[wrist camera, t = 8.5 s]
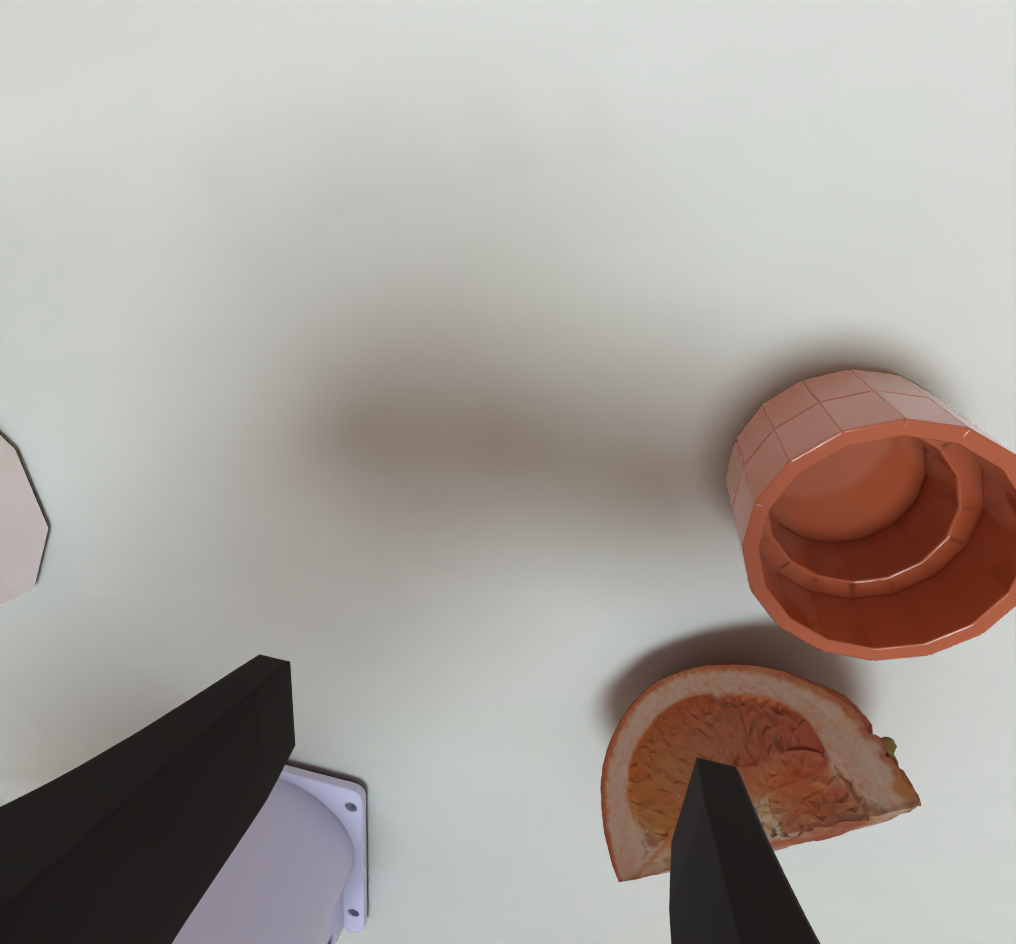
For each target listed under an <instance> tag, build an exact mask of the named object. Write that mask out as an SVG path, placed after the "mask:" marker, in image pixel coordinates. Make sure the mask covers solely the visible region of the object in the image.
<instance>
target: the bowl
mask: <svg viewBox="0 0 1016 944" xmlns="http://www.w3.org/2000/svg"><path fill="white" fill-rule="evenodd" d="M762 406H763V407H761V408H759V409H758V411H757V412H756V413H755V415H754V416H753V417H752V418H751V420H750V421H749V422H748V424H747V425H746V426H745V428H744V429H743V430H742V432H741V433H740V434H739V435H738V437H737V439H736V440H737V441H735V443H734V445H733V449H732V453H731V457H730V461H729V465H728V469H727V473H726V478H727V479H726V485H727V490H728V495H729V499H730V504H731V509H732V514H733V518H734V522H735V527H736V531H737V535H738V540H739V544H740V549H741V553H742V557H743V561H744V566H745V570H746V574H747V579H748V583H749V587H750V590H751V592H752V593H753V595H754V596H755V597H756V598H757V600H758V601H759V602H760V604H761V605H762V606H763V608H764V609H765V610H766V611H767V613H768V614H769V615H770V617H771V618H772V619H773V620H774V622H775V623H776V624H777V625H778V626H779V627H780V628H782V629H784V630H786V631H787V632H789V633H791V634H793V635H794V636H796V637H798V638H800V639H801V640H803V641H805V642H807V643H808V644H810V645H812V646H813V647H815V648H817V649H819V650H822V651H826V652H831V653H836V654H841V655H846V656H851V657H856V658H861V659H866V660H874V661H877V660H887V659H898V658H909V657H919V656H927V655H928V654H929V655H932V654H934V653H937V652H939V651H942V650H944V649H947V648H949V647H952V646H954V645H957V644H959V643H962V642H964V641H967V640H969V639H972V638H974V637H977V636H979V635H981V633H984V632H986V631H987V630H988V629H989V628H990V627H991V626H993V625H994V624H995V623H996V622H997V621H999V620H1000V619H1001V618H1002V617H1003V616H1004V615H1006V614H1007V613H1008V612H1009V611H1010V610H1012V609H1013V608H1014V607H1015V606H1016V454H1015V453H1014V452H1012V451H1011V450H1010V449H1008V448H1007V447H1005V446H1004V445H1003V444H1001V443H1000V442H998V441H997V440H996V439H994V438H993V437H992V436H990V435H989V434H987V433H986V432H985V431H983V430H982V429H981V428H979V427H978V426H976V425H975V424H974V423H972V422H970V421H969V420H968V419H967V418H965V417H964V416H962V415H961V414H960V413H958V412H957V411H956V410H954V409H953V408H951V407H950V406H949V405H947V404H946V403H945V402H943V401H942V400H940V399H939V398H938V397H936V396H934V395H933V394H931V393H929V392H927V391H926V390H924V389H922V388H921V387H919V386H917V385H915V384H914V383H912V382H910V381H909V380H907V379H905V378H903V377H900V376H898V375H894V374H886V373H879V372H871V371H863V370H856V369H851V370H844V371H840V372H835V373H831V374H826V375H822V376H817V377H813V378H808V379H804V380H803V381H799V382H798V383H796V384H795V385H793V386H791V387H790V388H788V389H787V390H785V391H783V392H782V393H780V394H778V395H777V396H775V397H774V398H772V399H770V400H769V401H767V402H766V403H764V404H763V405H762Z"/></svg>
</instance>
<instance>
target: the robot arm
mask: <svg viewBox="0 0 1016 944" xmlns="http://www.w3.org/2000/svg"><path fill="white" fill-rule="evenodd" d="M294 746H295V733H294V717H293V701H292V684H291V668H290V662H289V661H285V660H280V659H276V658H272V657H268V656H263V655H258V656H256V657H255V658H253V659H252V660H250V661H248V662H247V663H245V664H244V665H242V666H241V667H239V668H237V669H236V670H234V671H233V672H231V673H230V674H228V675H227V676H225V677H224V678H222V679H220V680H219V681H217V682H216V683H214V684H213V685H211V686H210V687H208V688H207V689H205V690H204V691H202V692H200V693H199V694H197V695H196V696H194V697H193V698H191V699H190V700H188V701H186V702H185V703H183V704H182V705H180V706H179V707H177V708H175V709H174V710H172V711H171V712H169V713H168V714H166V715H164V716H163V717H161V718H160V719H158V720H156V721H155V722H153V723H152V724H150V725H148V726H147V727H145V728H144V729H142V730H140V731H139V732H137V733H135V734H134V735H132V736H130V737H129V738H127V739H125V740H123V741H122V742H120V743H118V744H116V745H115V746H113V747H111V748H110V749H108V750H106V751H104V752H103V753H101V754H99V755H98V756H96V757H94V758H92V759H91V760H89V761H87V762H85V763H84V764H82V765H80V766H79V767H77V768H75V769H73V770H71V771H70V772H68V773H66V774H64V775H62V776H60V777H59V778H57V779H55V780H53V781H51V782H49V783H47V784H45V785H43V786H41V787H39V788H38V789H36V790H34V791H32V792H30V793H28V794H26V795H24V796H22V797H20V798H18V799H15V800H13V801H11V802H9V803H7V804H5V805H3V806H1V807H0V944H336V942H337V940H338V938H339V935H340V933H341V931H342V929H346V930H349V931H352V932H357V933H358V932H362V931H363V930H364V928H365V926H366V923H367V858H366V793H365V790H364V789H363V788H362V787H361V786H360V785H359V784H356V783H353V782H350V781H346V780H342V779H338V778H334V777H330V776H326V775H323V774H319V773H315V772H311V771H307V770H303V769H300V768H296V767H292V766H288V765H285V764H286V762H287V760H288V758H289V756H290V754H291V752H292V750H293V748H294ZM669 913H670V929H671V944H820V942H819V940H818V938H817V937H816V935H815V933H814V931H813V929H812V927H811V925H810V923H809V922H808V920H807V918H806V916H805V914H804V912H803V910H802V908H801V906H800V904H799V902H798V900H797V898H796V896H795V894H794V892H793V890H792V888H791V886H790V884H789V882H788V880H787V878H786V876H785V874H784V872H783V870H782V868H781V866H780V863H779V861H778V859H777V857H776V855H775V853H774V851H773V849H772V846H771V844H770V842H769V840H768V838H767V835H766V833H765V831H764V829H763V827H762V824H761V822H760V820H759V818H758V815H757V813H756V811H755V808H754V806H753V804H752V801H751V799H750V796H749V794H748V792H747V789H746V787H745V784H744V782H743V779H742V777H741V774H740V772H739V771H738V770H737V768H736V767H735V766H731V765H727V764H723V763H719V762H714V761H710V760H706V759H702V758H696V761H695V764H694V768H693V771H692V774H691V778H690V781H689V784H688V788H687V791H686V794H685V798H684V801H683V804H682V808H681V811H680V814H679V818H678V821H677V824H676V828H675V831H674V834H673V838H672V841H671V866H670V903H669Z"/></svg>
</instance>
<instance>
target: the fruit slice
mask: <svg viewBox="0 0 1016 944" xmlns="http://www.w3.org/2000/svg"><path fill="white" fill-rule="evenodd" d="M896 747H897V746H896V744H895V742H894V740H893V739H892V738H889V737H883V738H880V737H878V736H877V735H874V734H872V724H871V723H870V722H869V720H868V719H867V718H866V716H865V715H863V714H862V713H861V711H860V710H859V709H858V708H857V706H856V705H855V704H854V703H852V702H851V701H850V700H849V699H848V698H847V697H845V696H844V695H842V694H840V693H839V692H837V691H834V690H832V689H829V688H827V687H824V686H822V685H820V684H817V683H815V682H812V681H809V680H806V679H804V678H801V677H799V676H797V675H795V674H792V673H788V672H785V671H781V670H777V669H772V668H767V667H761V666H755V665H735V664H729V665H703V666H699V667H695V668H690V669H687V670H684V671H681V672H678V673H675V674H673V675H670V676H667V677H665V678H663V679H661V680H659V681H658V682H656V683H654V684H653V685H652V686H651V687H649V688H648V689H647V690H646V691H644V692H643V693H642V694H641V695H640V696H639V697H638V698H637V699H636V700H635V701H634V703H633V704H632V705H631V706H630V708H629V709H628V710H627V712H626V713H625V715H624V716H623V717H622V719H621V721H620V723H619V724H618V726H617V728H616V730H615V732H614V734H613V736H612V738H611V740H610V743H609V745H608V748H607V751H606V755H605V759H604V763H603V767H602V778H601V807H602V817H603V826H604V834H605V838H606V842H607V846H608V850H609V854H610V858H611V862H612V866H613V868H614V871H615V873H616V876H617V878H618V881H619V882H623V881H628V880H635V879H639V878H643V877H647V876H651V875H657V874H662V873H667V872H670V866H671V841H672V838H673V834H674V831H675V828H676V824H677V821H678V818H679V814H680V811H681V808H682V804H683V801H684V798H685V794H686V791H687V788H688V784H689V781H690V778H691V774H692V771H693V768H694V764H695V761H696V758H702V759H706V760H710V761H714V762H719V763H723V764H727V765H731V766H735V767H736V768H737V770H738V771H739V772H740V774H741V777H742V779H743V782H744V784H745V787H746V789H747V792H748V794H749V796H750V799H751V801H752V804H753V806H754V808H755V811H756V813H757V815H758V818H759V820H760V822H761V824H762V827H763V829H764V831H765V833H766V835H767V838H768V840H769V842H770V844H771V846H772V849H773V851H775V850H780V849H783V848H787V847H789V846H792V845H796V844H801V843H805V842H809V841H820V840H825V839H829V838H832V837H835V836H839V835H842V834H844V833H846V832H849V831H852V830H856V829H860V828H864V827H867V826H871V825H874V824H878V823H882V822H885V821H888V820H891V819H893V818H894V817H896V816H898V815H900V814H903V813H907V812H910V811H911V810H913V809H914V808H916V807H917V806H921V802H920V799H919V796H918V794H917V793H916V792H915V790H914V788H913V786H912V784H911V782H910V781H909V779H908V777H907V776H906V774H905V772H904V771H903V770H902V769H900V768H899V767H898V761H897V759H896V757H895V756H894V752H895V749H896Z"/></svg>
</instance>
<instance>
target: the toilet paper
mask: <svg viewBox="0 0 1016 944" xmlns="http://www.w3.org/2000/svg"><path fill="white" fill-rule="evenodd" d="M47 532H48V526H47V524H46V522H45V519H44V517H43V515H42V512H41V510H40V507H39V505H38V503H37V500H36V498H35V496H34V493H33V491H32V488H31V486H30V484H29V481H28V479H27V477H26V474H25V472H24V469H23V467H22V465H21V462H20V460H19V458H18V455H17V453H16V450H15V449H14V448H13V447H12V446H11V445H10V444H9V443H8V442H7V441H6V440H5V439H4V438H3V437H2V436H1V435H0V607H1V606H3V605H4V604H6V603H7V602H9V601H11V600H12V599H14V598H15V597H17V596H19V595H20V594H22V593H23V592H25V591H27V590H28V589H30V588H31V587H33V586H35V583H36V578H37V574H38V570H39V566H40V562H41V557H42V553H43V549H44V545H45V541H46V536H47Z"/></svg>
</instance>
